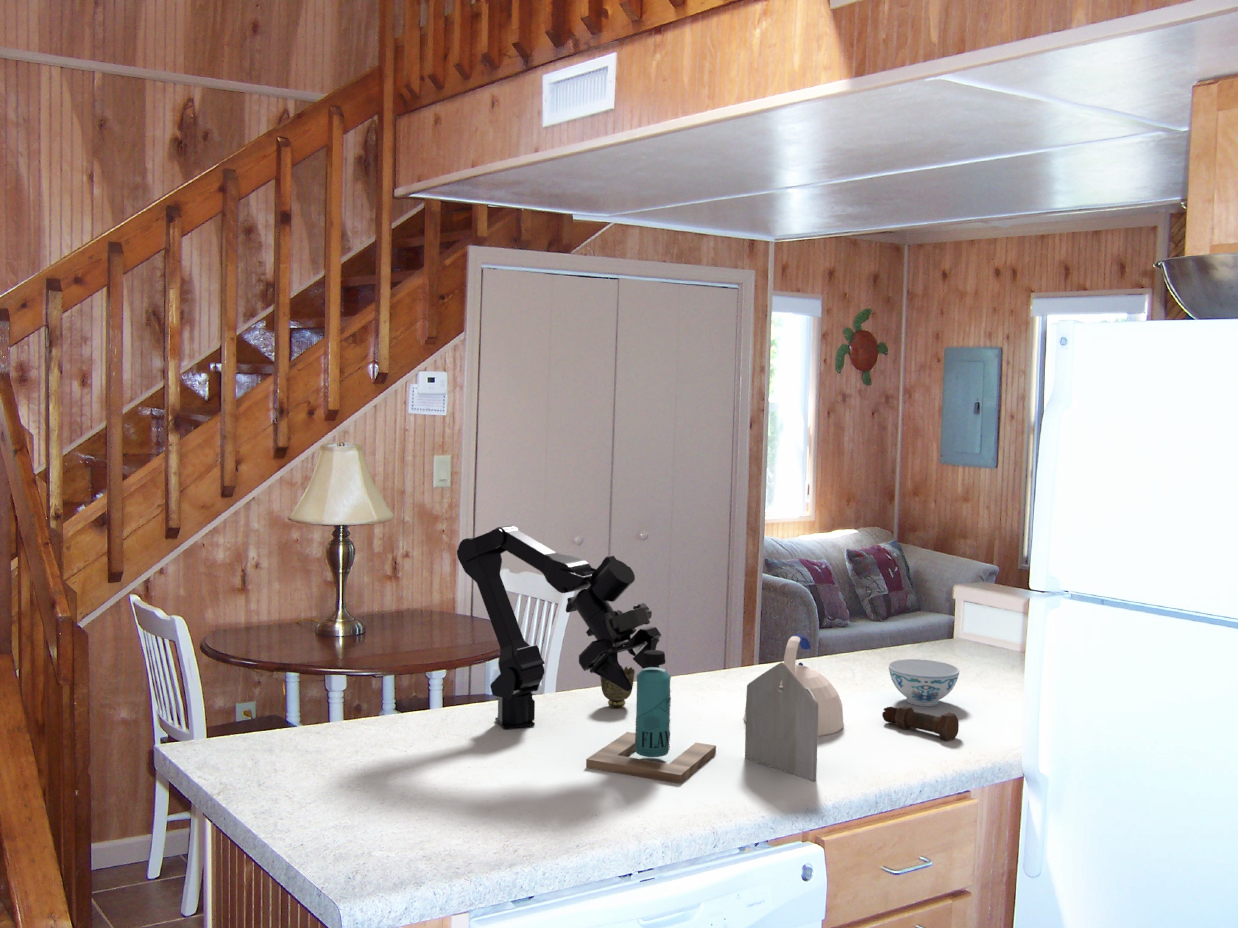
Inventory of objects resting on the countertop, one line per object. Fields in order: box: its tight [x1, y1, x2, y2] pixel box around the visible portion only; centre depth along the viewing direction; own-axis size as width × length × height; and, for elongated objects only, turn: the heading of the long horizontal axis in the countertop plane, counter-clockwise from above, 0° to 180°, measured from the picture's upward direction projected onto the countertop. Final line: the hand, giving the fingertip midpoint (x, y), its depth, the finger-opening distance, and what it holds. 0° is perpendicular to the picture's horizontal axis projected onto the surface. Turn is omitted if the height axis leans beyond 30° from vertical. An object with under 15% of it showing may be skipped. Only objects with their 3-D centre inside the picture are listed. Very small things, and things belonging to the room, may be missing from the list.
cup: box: [599, 665, 636, 709], centre depth 240 cm, size 8×7×8 cm
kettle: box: [743, 634, 845, 737], centre depth 231 cm, size 20×21×18 cm
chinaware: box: [888, 658, 960, 707], centre depth 248 cm, size 15×15×8 cm
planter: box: [744, 662, 819, 782], centre depth 204 cm, size 16×8×19 cm, turn 42°
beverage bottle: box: [634, 649, 672, 758], centre depth 206 cm, size 6×7×20 cm
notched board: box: [585, 731, 717, 785], centre depth 206 cm, size 18×18×2 cm
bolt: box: [881, 705, 960, 742], centre depth 227 cm, size 6×5×15 cm
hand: (645, 685), depth 206 cm, fingers open, 9 cm apart
